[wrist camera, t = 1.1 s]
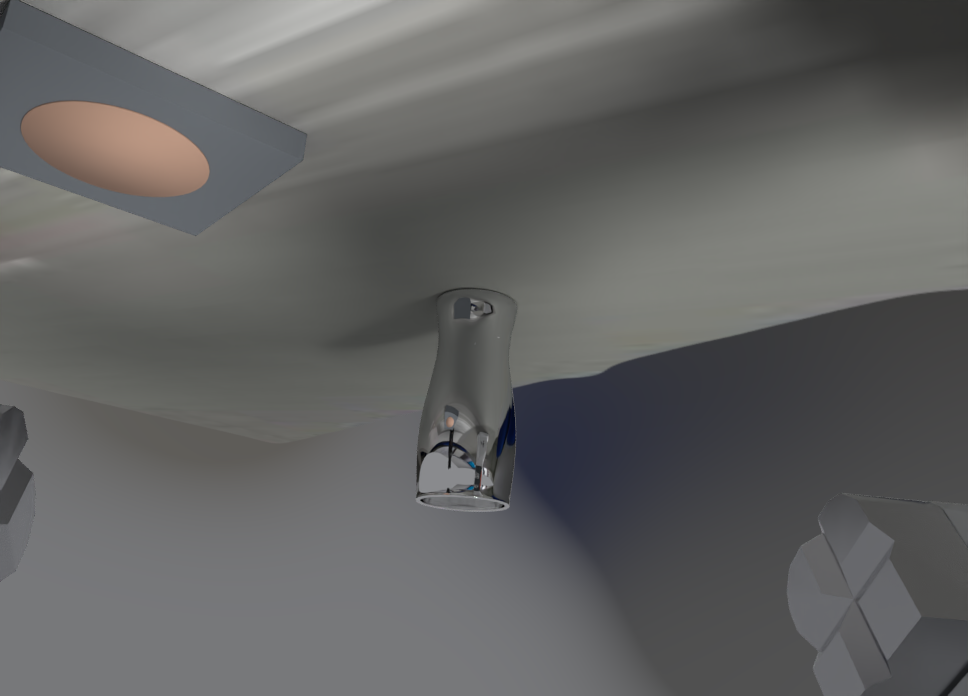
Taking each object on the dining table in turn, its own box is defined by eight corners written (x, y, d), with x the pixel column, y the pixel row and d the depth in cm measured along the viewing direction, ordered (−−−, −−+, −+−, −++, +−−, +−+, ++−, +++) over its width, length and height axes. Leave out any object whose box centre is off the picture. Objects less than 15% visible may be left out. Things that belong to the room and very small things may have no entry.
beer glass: (523, 322, 69) (513, 514, 64) (435, 318, 69) (418, 509, 64) (522, 287, 62) (511, 499, 57) (425, 283, 62) (406, 493, 58)
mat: (306, 134, 45) (302, 161, 44) (199, 214, 54) (195, 237, 54) (11, -3, 36) (2, 29, 36) (-55, 119, 46) (-63, 146, 45)
